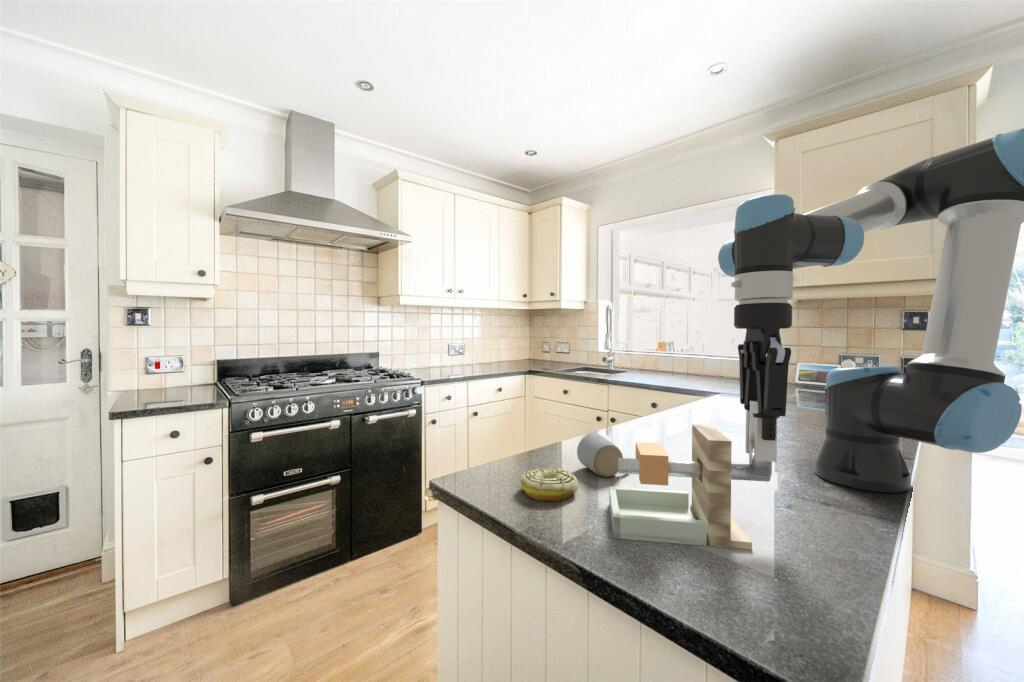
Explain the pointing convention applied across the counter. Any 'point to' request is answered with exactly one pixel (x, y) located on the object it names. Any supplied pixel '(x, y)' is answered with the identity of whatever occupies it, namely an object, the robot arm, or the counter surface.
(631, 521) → the tray
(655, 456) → the block
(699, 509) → the bracket
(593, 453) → the ceramic mug
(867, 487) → the robot arm
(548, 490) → the decorated donut
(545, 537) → the counter surface
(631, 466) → the grey l-shaped bar
